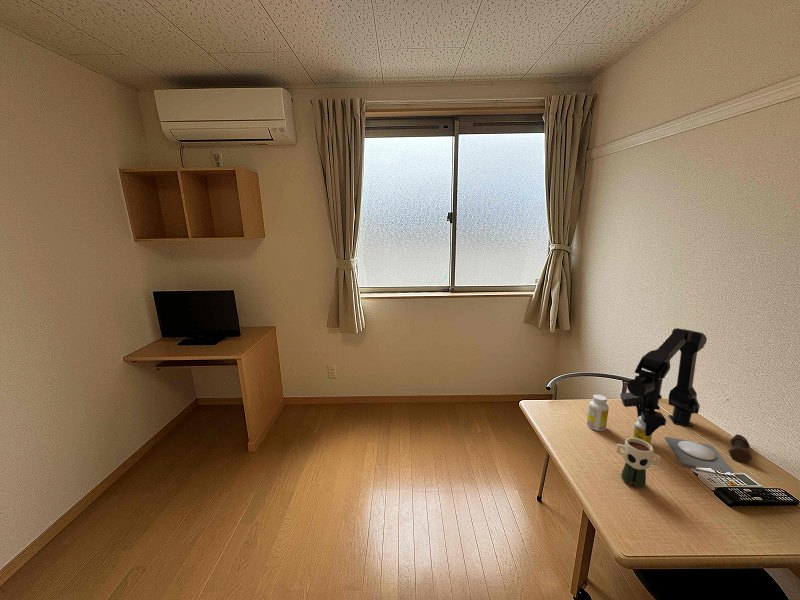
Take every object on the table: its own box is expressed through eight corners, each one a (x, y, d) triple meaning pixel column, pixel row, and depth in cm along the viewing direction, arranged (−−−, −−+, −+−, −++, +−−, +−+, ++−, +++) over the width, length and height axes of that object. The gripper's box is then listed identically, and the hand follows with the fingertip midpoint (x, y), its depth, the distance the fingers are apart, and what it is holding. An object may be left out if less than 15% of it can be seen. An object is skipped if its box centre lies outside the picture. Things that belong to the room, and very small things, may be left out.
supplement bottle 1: (606, 425, 136) (610, 396, 133) (605, 433, 130) (610, 403, 128) (587, 420, 139) (591, 391, 137) (585, 428, 134) (589, 398, 131)
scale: (665, 438, 127) (665, 434, 127) (712, 448, 122) (712, 443, 122) (682, 466, 112) (682, 462, 112) (736, 478, 107) (737, 473, 107)
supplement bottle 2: (653, 446, 123) (658, 422, 121) (641, 447, 122) (645, 423, 120) (640, 437, 128) (644, 414, 126) (628, 438, 127) (632, 415, 125)
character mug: (611, 481, 105) (617, 444, 103) (612, 468, 111) (618, 432, 109) (655, 496, 100) (662, 457, 97) (653, 481, 105) (660, 444, 103)
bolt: (740, 448, 125) (740, 466, 115) (725, 437, 128) (724, 454, 117) (754, 439, 123) (756, 457, 112) (739, 428, 125) (739, 444, 115)
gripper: (618, 375, 132) (613, 412, 136) (630, 396, 115) (623, 437, 119) (652, 380, 128) (646, 417, 132) (670, 403, 111) (662, 445, 115)
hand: (643, 428), depth 124 cm, fingers open, 9 cm apart
